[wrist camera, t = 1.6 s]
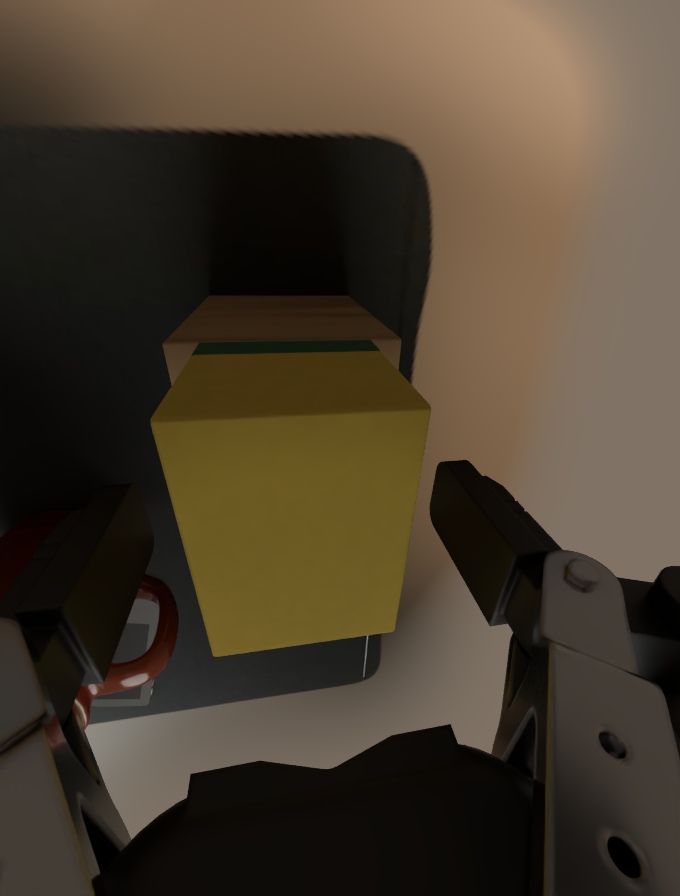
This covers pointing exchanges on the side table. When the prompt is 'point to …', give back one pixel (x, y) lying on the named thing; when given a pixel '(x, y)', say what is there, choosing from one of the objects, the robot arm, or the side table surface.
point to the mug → (19, 544)
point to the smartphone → (134, 653)
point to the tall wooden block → (276, 325)
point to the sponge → (292, 487)
